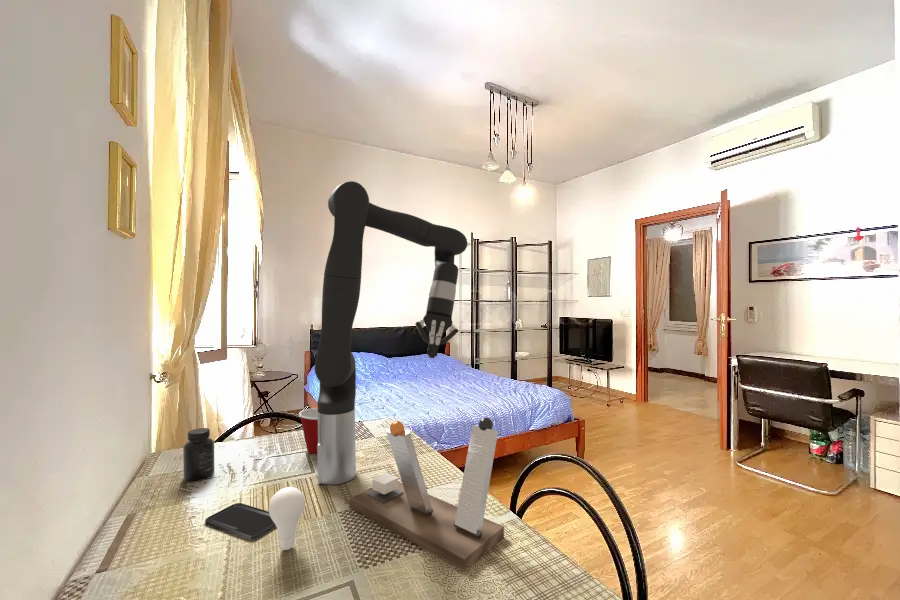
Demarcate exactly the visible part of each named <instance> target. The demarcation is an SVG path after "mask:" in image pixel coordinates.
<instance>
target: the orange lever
mask: <svg viewBox="0 0 900 600" xmlns="http://www.w3.org/2000/svg"><path fill="white" fill-rule="evenodd" d="M386 435H387V438H388V441H389V444H390V449H391V451H392V454H393V458H394V461H395V463H396V467H397V470H398V472H399V473H398V474H399V477H400V480H401V483H403V487H404V490H405V493H406V496H407V499H408V503H409V506H410V507H412V508H414V509H417V510H419V511H421V512H423V513H425V514H428V515H432V513H433V509H432V506H431V502H430V499H429V496H428V494H429V492H428V489H427V487H426V482H425V478H424V476H423V473H422V469H421V466H420V463H419V459H418V455H417V452H416V449H415V445H414V443H413V438H412V435H411V432H410V431H408V430H405V425H404V424H403V422H401V421H397V420H395V421H393V422H392V423H391V424H390V425H389V428H388V429H387V430H386Z"/></svg>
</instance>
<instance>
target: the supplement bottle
mask: <svg viewBox="0 0 900 600" xmlns="http://www.w3.org/2000/svg"><path fill="white" fill-rule="evenodd" d="M182 448H183V449H182V453H183V454H182V455H183V456H182V457H183V458H182V459H183V461H182V462H183V463H182V464H183V468H182V469H183V480H185V481H186V482H190V483H193V481H195V482H199V480H200V481H203V479H204V480H206V479H209V478H210V477H212V476H213V475H214V473H215V441H214V440H213V438H211V433H210V428H208V427H200V428H199V427H198V428H194V429H191V430H189V431H187V442H186V443H185V444H184V445H183V447H182ZM208 477H209V478H208Z"/></svg>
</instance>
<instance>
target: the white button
mask: <svg viewBox="0 0 900 600" xmlns="http://www.w3.org/2000/svg"><path fill="white" fill-rule="evenodd" d="M371 482H372V484H371V486H372V487H373V490H375V491H378V492H380V493H382V494H384V495H385V494H388V493H390V492H391V491H393V490H395V489H397V488H398V482H399V477H397V476H395V475H392V474H390V473H387V472H385V473H384V474H383V473H382V474H380V475H378V476H377V477H375V478H374V477H373V478H372V480H371ZM372 487H371V488H372Z"/></svg>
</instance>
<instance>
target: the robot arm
mask: <svg viewBox="0 0 900 600" xmlns="http://www.w3.org/2000/svg"><path fill="white" fill-rule="evenodd" d="M327 206H328V210H329V212H330V214H331V216H333V218H334V220H333V221H334V223H333V224H334V225H333V236H332V241H331V245H330V248H329V251H328V254H327V258H326V262H325V267H324V272H323V282H322V294H321V295H322V296H321V298H322V299H321V327H320V328H321V329H320V337H319V341H318V348H317V353H316V357H315V362H314V373H315V377H316V379H317V380H318V381H319V393H318V399H317V407H316V408H318V445H317V454H316V455H317V462H316V463H317V484H318V485H321V484H323V485H330V486H331V485H332V486H333V485H340V484H344V483H347V482H349V481H352V480H353V479H354V478H355V477H356V476H357V475H356V474H357V465H356V464H357V461H356V459H357V458H356V457H357V455H356V409H355V408H356V393H357V392H356V391H357V390H356V388H357V385H356V383H357V382H356V377H357V375H356V374H357V372H356V371H357V368H356V360H355V359H356V358H355V356H354V354H353V353H352V350H351V349H352V348H351V347H352V345H351V344H352V343H351V342H352V330H353V324H354V321H355V317H356V315H357V310H358V306H359V301H360V294H361V286H362V285H361V283H362V270H363V269H362V268H363V266H362V265H363V247H364V246H363V242H364V234H365V229H366V227H369V228H372V229H375V230H377V231H378V230H379V231H382V232H385V233H387V234H390V235H393V236H396V237H398V238H401V239H404V240H406V241H408V242H412V243H415V244H416V245H419V246H422V247H434V267H435V268H434V271H433V278H432V282H431V285H430V288H429V289H430V290H429V293H428V298H427V299H428V300H427V305H426V310H425V311H426V312H425V315H424V316H423V319H421V320H419V321H416V322H415V324H414V325H415V327H416V329H417V330H418V333H419V334H420V336H421V338H422V340H423V341H424V342H426V343H427V344H428V346H427V350H426V351H427V352H426V355H427V356H428V358H429V359H435V358H436V357H437V356H438V353H439V352H438V351H439V346H441V345H445V344H447V342H449V341H450V340H451V339H452V338H453V337H454V336H455V335H456V334H458V333H459V329H458V328H456V327H455V325H454V324H453V312H454V305H455V301H456V300H455V299H456V293H457V291H456V290H457V282H458V276H459V267H458V265H456V264H455V256H459V255H460V254H462V253H464V252H465V251H466V249H467V247H468V239H467V237H466V235H465V234H464V233H463V232H461V231H460V230H457V228H456V229H455V228H452V227H449V226H446V225H445V226H444V225H440V224H436V223H432V222H430V221H427V220H425V219H424V218H421V217H418V216H416V215H412V214H409V213H405V212H401V211H396V210H391V209H387V208H384V207H381V206H378V205H376V204H374V203H371V202H370V198H369V194H368V191H367V190H366V188H365V187H364V186H363V185H362V184H361V183H359V182H357V181H354V180H349V181H343V182H342V183H341V184H339V185H337V186H336V187H335V188H334V189H333V191H332V192H331V193H330V195H329V197H328V200H327ZM425 327H426V328H427V331H428V332H429V333H428V334H429V335H428V336H427V334H426V332H425V330H424V328H425ZM447 330H448V332H449V333H448V334H447V335H446V336H445V337H443V338H442V336H443V334H444V333H445V332H447Z"/></svg>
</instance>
